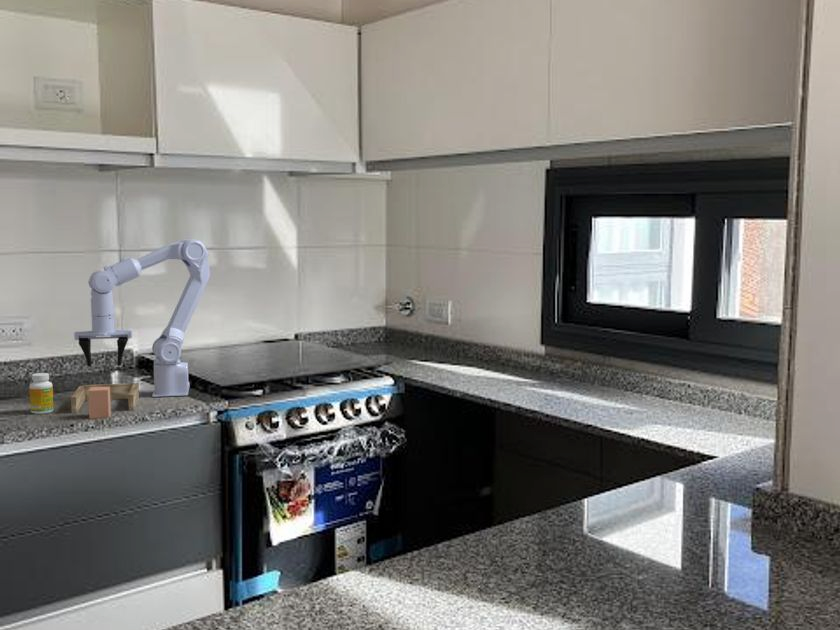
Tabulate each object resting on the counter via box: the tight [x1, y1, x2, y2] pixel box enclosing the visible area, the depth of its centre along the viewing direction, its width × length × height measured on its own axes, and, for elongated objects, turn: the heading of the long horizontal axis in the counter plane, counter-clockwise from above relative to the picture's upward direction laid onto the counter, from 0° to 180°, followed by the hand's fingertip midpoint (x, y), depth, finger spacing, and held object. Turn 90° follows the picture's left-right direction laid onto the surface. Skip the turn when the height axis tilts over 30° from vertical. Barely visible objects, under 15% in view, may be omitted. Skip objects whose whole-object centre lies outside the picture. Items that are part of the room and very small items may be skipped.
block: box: [88, 387, 112, 419], centre depth 217 cm, size 4×4×7 cm
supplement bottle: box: [28, 372, 54, 415], centre depth 221 cm, size 5×5×10 cm
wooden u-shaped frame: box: [70, 382, 140, 414], centre depth 230 cm, size 15×16×4 cm
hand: (104, 365), depth 235 cm, fingers open, 7 cm apart
